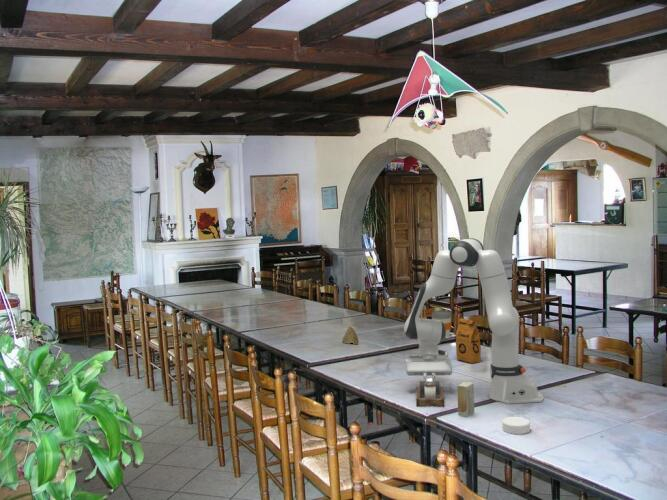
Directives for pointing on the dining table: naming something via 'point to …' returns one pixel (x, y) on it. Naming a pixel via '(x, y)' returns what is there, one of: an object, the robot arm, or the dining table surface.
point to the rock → (350, 336)
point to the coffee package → (468, 342)
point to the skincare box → (465, 398)
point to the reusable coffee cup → (443, 319)
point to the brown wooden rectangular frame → (430, 400)
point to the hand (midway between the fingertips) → (429, 383)
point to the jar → (430, 390)
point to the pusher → (422, 389)
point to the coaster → (516, 425)
